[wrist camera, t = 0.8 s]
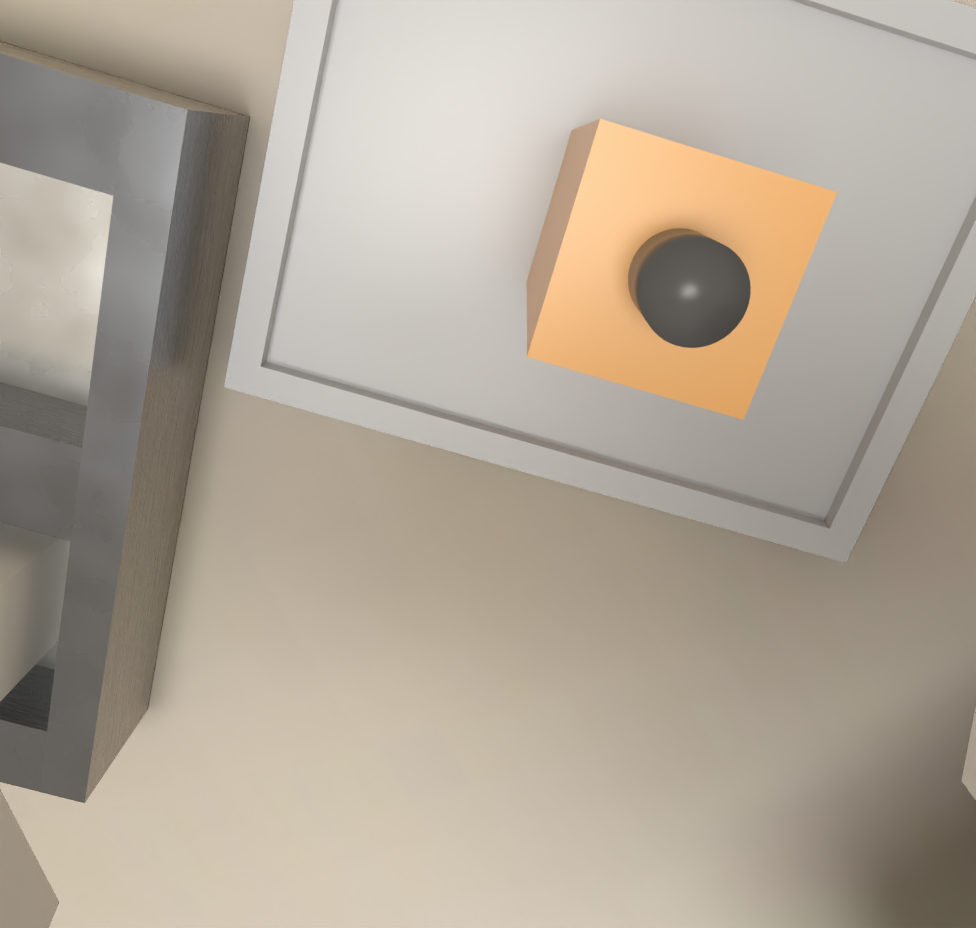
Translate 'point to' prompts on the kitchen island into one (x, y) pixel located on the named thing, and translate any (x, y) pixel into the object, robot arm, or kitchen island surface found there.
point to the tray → (522, 212)
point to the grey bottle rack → (102, 379)
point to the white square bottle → (29, 599)
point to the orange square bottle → (668, 266)
